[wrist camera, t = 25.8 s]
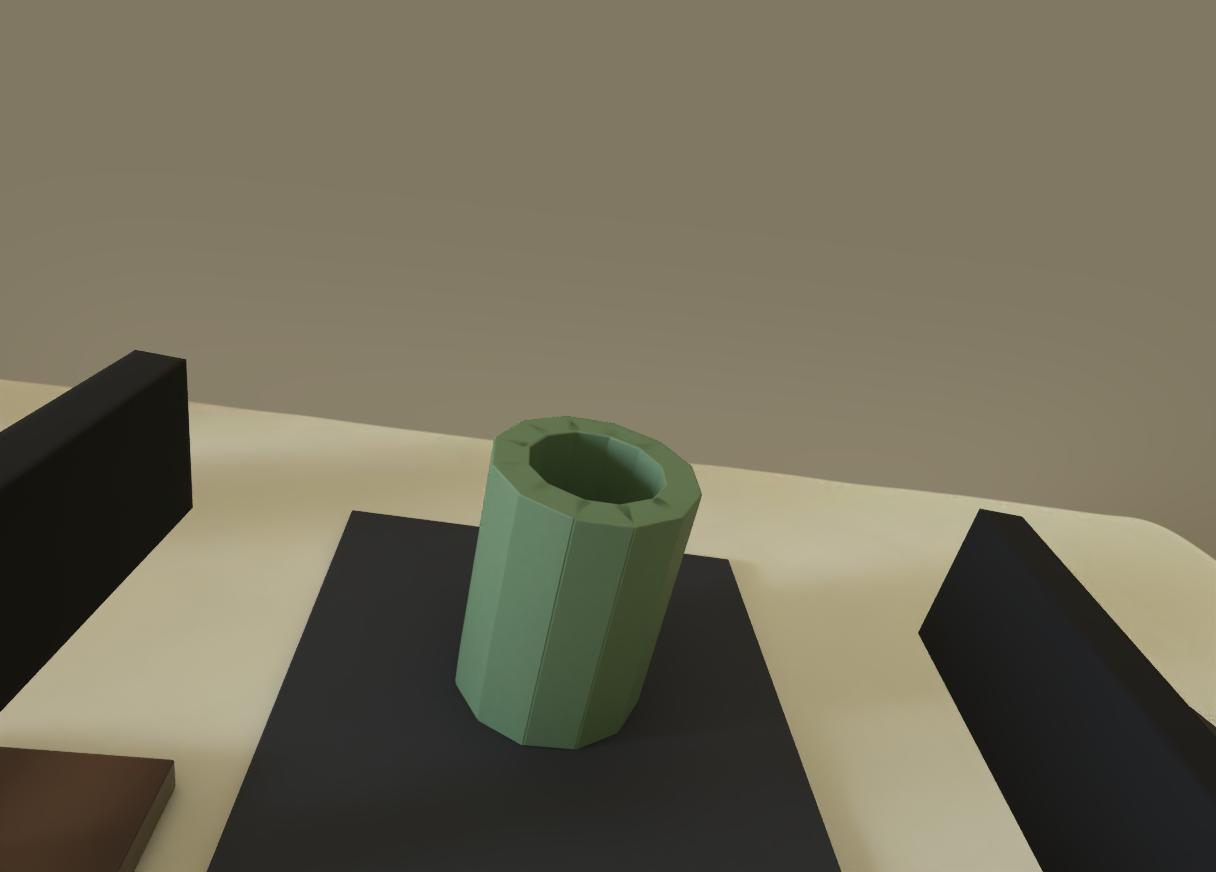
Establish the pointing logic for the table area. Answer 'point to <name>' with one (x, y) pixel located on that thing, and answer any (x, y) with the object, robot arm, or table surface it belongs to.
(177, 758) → the table surface
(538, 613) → the hollow cylinder
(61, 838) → the peg stand
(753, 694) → the placemat
